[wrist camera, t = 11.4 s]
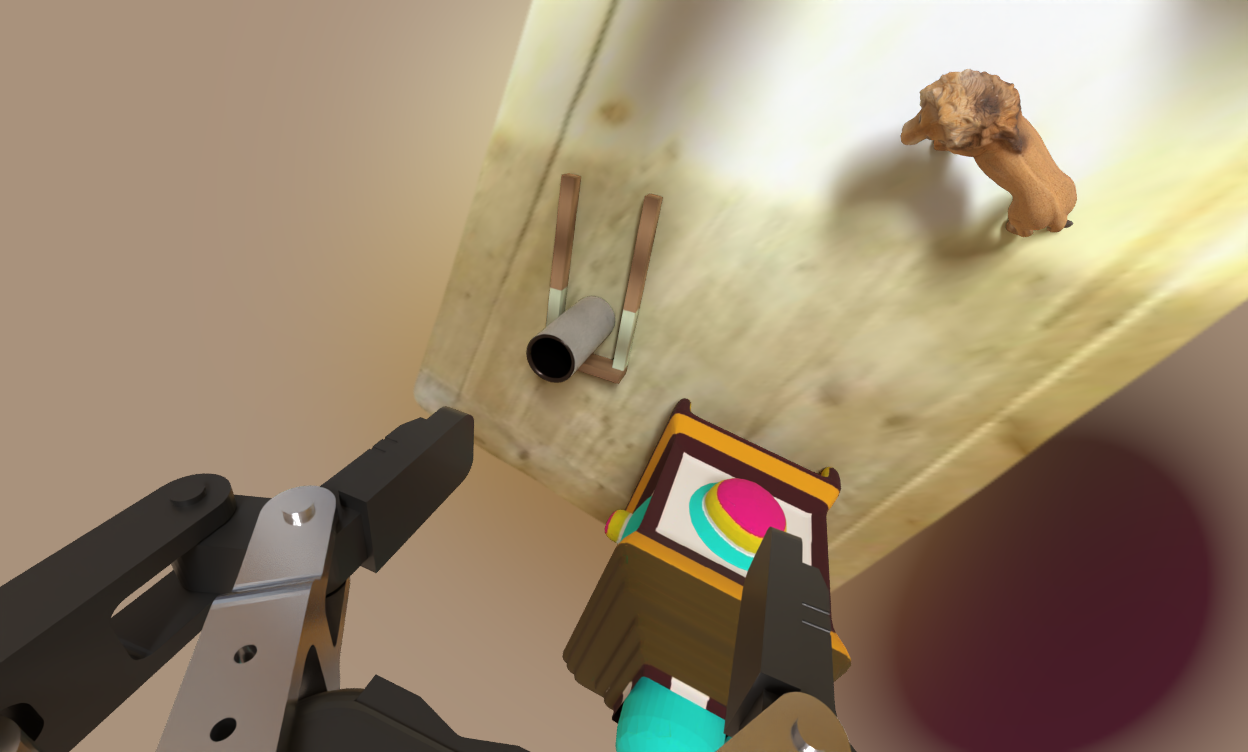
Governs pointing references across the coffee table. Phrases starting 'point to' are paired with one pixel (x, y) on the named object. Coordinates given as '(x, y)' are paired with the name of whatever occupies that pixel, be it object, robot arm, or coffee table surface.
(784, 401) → the coffee table surface
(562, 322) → the grey hollow cylinder
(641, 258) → the guide channel
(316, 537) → the robot arm
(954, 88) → the lion figurine
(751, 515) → the decorative lantern
